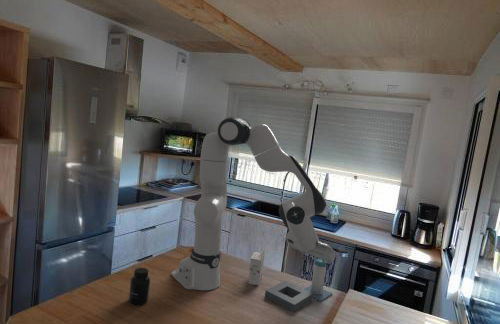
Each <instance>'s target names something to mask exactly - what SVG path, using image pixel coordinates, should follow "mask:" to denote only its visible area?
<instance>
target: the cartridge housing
mask: <svg viewBox="0 0 500 324" xmlns="http://www.w3.org/2000/svg"><path fill="white" fill-rule="evenodd" d="M304 289H305V288H302V287H299V286H297V285H295V284H293V283H290V281H287V280H284V281H281V282H279V283H278V284H275V285H273V286H271V287H269V288H268V289H265V294H264V298H265V299H268V300H269V301H271V302H273V303H275V304H277V305H279V306H281V307H283V308H285V309H287V310H289V311H290V312H292V313H294V312H296V311H298V310H299V309H301V308H303V307H304V306H306V305H307V304H309V303H311V302H312V301H313V299H314V298H313V293H311V292H309V291H306V290H304ZM288 295H289V296H288ZM290 296H292V297H290Z"/></svg>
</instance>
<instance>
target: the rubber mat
mask: <svg viewBox="0 0 500 324" xmlns="http://www.w3.org/2000/svg"><path fill="white" fill-rule="evenodd" d="M303 289H304V290H306V291H309V292H311V285H309V286H307V287H305V288H303ZM332 295H333V293H332V292H331V291H328V290H325V289H324V288H323V292H322V295H315V294H313V298H312V299H314V300H316V301H318V302H320V303H322V302H323V301H325V300H326V299H328V298H329V297H331V296H332Z"/></svg>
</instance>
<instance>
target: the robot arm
mask: <svg viewBox="0 0 500 324" xmlns="http://www.w3.org/2000/svg"><path fill="white" fill-rule="evenodd" d="M270 128H271V127H269V125H267V124H264V123H257V124H255V125H252V126H251V124H250V123H249V121H247V120H246V119H244V118H241V117H239V116H231V117H227V118H224V119H223V120H222V121H221V122H219V125H218V128H217V132H210V133H207V134H206V135H205V136H204V137H203V141H202V145H201V150H200V158H199V159H200V161H199V162H200V164H199V181H200V188H201V196H200V198H199V199H198V200H196V203H195V205H194V208H193V215H194V227H195V228H194V230H195V231H194V242H193V247H192V248H189V251H188V253H190V252H191V253H190V255H189V256H187V257H186V258H183V259H182V260H181V261H179V263H178V266H177V268H176V269H174V270H173V271H172V272H171V274H170V275H171V276H172V277H173V278H174V279H175V280H176V281H177V282H178V283H179V284H180V285H181V286H182V287H183V288H185V289H186V290H196V291H212V290H215V289H218V287H220V285H221V280H220V279H221V275H220V274H221V273H220V266H221V265H220V261H221V255H222V253H221V244H222V236H223V234H222V233H223V232H222V219H223V218H222V217H223V213H224V212H225V210H226V209H227V206H228V205H227V204H228V190H227V189H228V188H227V187H228V186H227V173H228V155H229V150H230V148H231V146H238V145H242V144H243V145H244V144H245V145H247V146H248V147H249V149H250V151H251V153H252V155H253V158H254V159H255V162H256V163H257V165H258V167H259V168H260V169H261V170H263V171H265V172H267V173H269V172H270V173H280V172H281V173H282V172H288V173H292V174H293V175H295V176H296V178H297V180H298V181H299V183H300V184H301V186H302V187H303V188H304V192H303V193H300V194H298V195H296V196H294V197H291V198H289V199H287V200H284V201H283V202H281V204H280V205H279V208H278V214H279V217H280V219H281V221H282V222H283V225H284V227H285V228H287V230H288V232H287V234H286V235H285V238H284V239H285V240H286V242H287V244H288V246H290V247H291V248H292V249H296V250H297V251H300V252H301V253H302V255H304V256H307V255H308V254H309V255H311V256H313V257H315V258H317V259H322V261H323V262H324V263H327V264H328V263H333V262H334V260H335V259H336V256H337V254H336V252H335V249H333V247H332V246H330V245H329V244H327V243H325V242H323V241H322V242H321V241H319V235H318V233H317V231H316V229H315V227H314V224H313V221H312V220H311V217H313V216H317V215H320V214H323V213H324V211H325V210H326V207H327V200H326V197H324V195H323V194H322V192H321V191H320V190H319V189H318V188H317V187H316V185H315V184H314V183H313V181H312V180H311V178H310V176H309V175H308V174H307V173H306V171H305V169H304V168H303V166H302V165H301V164H300V163H299V161H298V160H297V159H296V157H295V156H294V155H292V154H287V153H286V152H285V151H284V150H283V149H282V148H281V146H280V143H279V141H278V140H277V137H276V136H275V134H274V133H273V131H272V129H270Z"/></svg>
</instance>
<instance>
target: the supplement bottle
mask: <svg viewBox="0 0 500 324" xmlns="http://www.w3.org/2000/svg"><path fill="white" fill-rule="evenodd" d="M129 283H130V284H129V291H128V292H129V293H128V294H129V295H128V303H129V304H130V303H131V304H130V305H132V304H133V305H132V306H134V305H141V306H143V304H144V305H145V303H146V302H147V303H148V301H149V293H150V286H151V285H150V284H151V279H150V277H149V269H148V268H146V267H137V268H136V269H134V272H133V276H131V278H130V281H129ZM147 303H146V304H147Z"/></svg>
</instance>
